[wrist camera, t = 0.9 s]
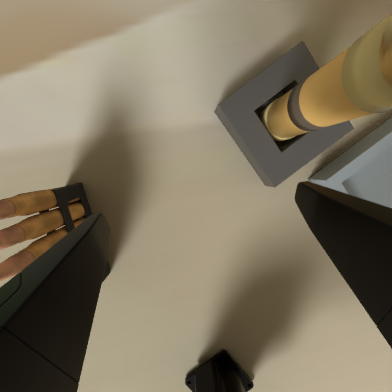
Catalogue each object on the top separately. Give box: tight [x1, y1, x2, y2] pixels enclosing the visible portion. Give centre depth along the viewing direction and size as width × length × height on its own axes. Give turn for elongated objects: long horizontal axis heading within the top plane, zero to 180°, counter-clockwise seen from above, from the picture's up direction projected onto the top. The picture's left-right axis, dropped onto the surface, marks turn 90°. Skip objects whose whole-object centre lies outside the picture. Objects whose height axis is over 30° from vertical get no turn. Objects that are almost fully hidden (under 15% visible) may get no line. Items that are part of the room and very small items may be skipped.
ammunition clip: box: [0, 183, 110, 282], centre depth 17 cm, size 11×2×12 cm, turn 14°
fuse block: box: [215, 41, 354, 187], centre depth 22 cm, size 10×10×2 cm
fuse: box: [259, 14, 392, 142], centre depth 16 cm, size 4×4×14 cm
